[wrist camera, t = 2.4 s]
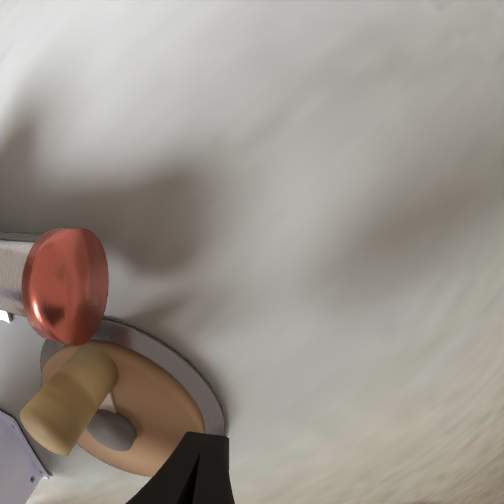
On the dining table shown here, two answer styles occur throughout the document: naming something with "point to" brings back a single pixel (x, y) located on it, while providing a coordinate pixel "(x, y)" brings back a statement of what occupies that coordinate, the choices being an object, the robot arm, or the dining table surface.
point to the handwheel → (111, 407)
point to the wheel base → (163, 358)
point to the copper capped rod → (56, 283)
